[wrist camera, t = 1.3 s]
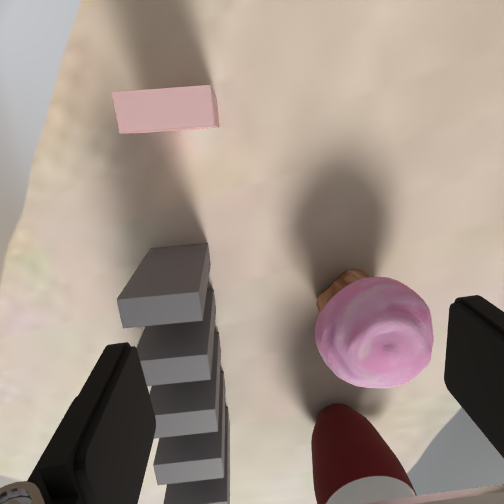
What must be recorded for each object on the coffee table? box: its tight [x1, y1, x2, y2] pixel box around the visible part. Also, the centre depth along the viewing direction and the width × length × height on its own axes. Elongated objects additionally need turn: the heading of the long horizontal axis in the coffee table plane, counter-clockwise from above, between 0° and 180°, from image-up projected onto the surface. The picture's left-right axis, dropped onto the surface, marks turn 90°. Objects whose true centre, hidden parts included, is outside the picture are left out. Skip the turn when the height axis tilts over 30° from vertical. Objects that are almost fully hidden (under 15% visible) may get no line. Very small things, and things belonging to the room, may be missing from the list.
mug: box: [311, 404, 417, 504], centre depth 34 cm, size 11×8×10 cm
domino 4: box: [153, 371, 225, 485], centre depth 31 cm, size 2×5×10 cm, turn 94°
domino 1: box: [117, 243, 210, 328], centre depth 27 cm, size 2×5×10 cm, turn 94°
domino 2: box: [136, 290, 216, 386], centre depth 28 cm, size 2×5×10 cm, turn 94°
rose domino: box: [112, 85, 219, 134], centre depth 23 cm, size 2×5×10 cm, turn 94°
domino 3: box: [149, 332, 221, 438], centre depth 30 cm, size 2×5×10 cm, turn 94°
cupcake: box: [315, 269, 433, 388], centre depth 29 cm, size 9×9×10 cm
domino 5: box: [164, 407, 230, 504], centre depth 33 cm, size 2×5×10 cm, turn 94°
